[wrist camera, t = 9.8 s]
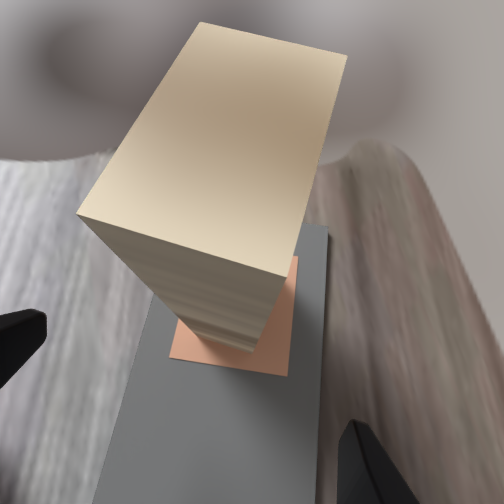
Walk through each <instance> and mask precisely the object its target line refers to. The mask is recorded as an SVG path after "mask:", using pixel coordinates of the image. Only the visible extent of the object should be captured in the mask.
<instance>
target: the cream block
mask: <svg viewBox="0 0 504 504" xmlns="http://www.w3.org/2000/svg"><path fill="white" fill-rule="evenodd" d="M346 59H347V55H342V54H338V53H334V52H329V51H325V50H321V49H316V48H312V47H308V46H303V45H299V44H295V43H290V42H286V41H281V40H277V39H273V38H268V37H264V36H259V35H255V34H251V33H247V32H242V31H238V30H233V29H229V28H225V27H221V26H216V25H212V24H207V23H203V22H200V23H199V24H198V26H197V28H196V29H195V31H194V32H193V34H192V35H191V37H190V38H189V40H188V41H187V43H186V44H185V46H184V48H183V49H182V51H181V52H180V54H179V56H178V57H177V58H176V60H175V61H174V63H173V65H172V66H171V68H170V69H169V71H168V72H167V74H166V75H165V77H164V79H163V80H162V82H161V83H160V85H159V86H158V88H157V89H156V91H155V92H154V94H153V95H152V97H151V98H150V100H149V101H148V103H147V105H146V106H145V108H144V109H143V111H142V112H141V114H140V115H139V117H138V118H137V120H136V122H135V123H134V125H133V126H132V128H131V129H130V131H129V132H128V134H127V135H126V137H125V139H124V140H123V142H122V143H121V145H120V146H119V148H118V149H117V151H116V152H115V154H114V155H113V157H112V158H111V160H110V162H109V163H108V165H107V166H106V168H105V169H104V171H103V172H102V174H101V175H100V177H99V179H98V180H97V182H96V183H95V185H94V186H93V188H92V189H91V191H90V192H89V194H88V195H87V197H86V199H85V200H84V202H83V203H82V205H81V206H80V208H79V209H78V211H77V212H76V214H77V215H78V216H79V217H80V218H81V219H82V220H83V221H84V222H85V224H86V225H87V226H88V227H89V228H90V229H91V230H92V231H93V232H94V233H95V234H96V235H97V236H98V237H99V238H100V239H101V240H102V241H103V242H104V243H105V244H106V245H107V246H108V247H109V248H110V249H111V250H112V251H113V252H114V253H115V254H116V255H117V256H118V257H119V258H120V259H121V260H122V261H123V262H124V263H125V264H126V265H127V266H128V267H129V268H130V269H131V270H132V271H133V272H134V273H135V274H136V275H137V276H138V277H139V278H140V279H141V280H142V281H143V282H144V283H145V284H146V285H147V286H148V287H149V288H150V289H151V290H152V291H153V292H154V293H155V294H156V295H157V296H158V297H159V298H160V299H161V300H162V301H163V302H164V303H165V304H166V305H167V306H168V308H169V309H170V310H171V311H172V312H173V313H174V314H175V315H176V316H177V317H178V318H179V319H180V320H181V321H182V322H183V323H184V324H185V325H186V326H187V327H188V328H189V329H190V330H191V331H192V332H193V333H194V334H195V335H196V336H198V337H201V338H204V339H207V340H210V341H213V342H216V343H219V344H222V345H225V346H228V347H231V348H234V349H237V350H241V351H244V352H247V353H250V354H252V353H253V351H254V349H255V347H256V344H257V342H258V340H259V338H260V336H261V333H262V331H263V329H264V327H265V325H266V322H267V320H268V318H269V316H270V314H271V311H272V309H273V307H274V305H275V303H276V300H277V298H278V296H279V294H280V292H281V289H282V287H283V285H284V283H285V281H286V278H287V275H288V272H289V268H290V264H291V261H292V257H293V253H294V250H295V246H296V242H297V239H298V235H299V232H300V228H301V224H302V221H303V217H304V213H305V210H306V206H307V202H308V199H309V195H310V191H311V188H312V184H313V180H314V177H315V173H316V169H317V166H318V162H319V158H320V155H321V151H322V147H323V144H324V140H325V136H326V133H327V129H328V125H329V122H330V118H331V114H332V111H333V107H334V103H335V99H336V96H337V92H338V89H339V85H340V81H341V77H342V74H343V70H344V66H345V63H346Z"/></svg>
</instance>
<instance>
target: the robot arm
mask: <svg viewBox="0 0 504 504" xmlns="http://www.w3.org/2000/svg"><path fill="white" fill-rule="evenodd" d="M46 337H47V316H46V314H45V313H44V312H41V311H38V310H35V309H26V310H22V311H17V312H12V313H8V314H3V315H0V389H1V388H2V387H3V386H4V385H5V384H6V383H7V382H8V381H9V380H10V378H11V377H12V376H13V375H14V374H15V373H16V372H17V371H18V370H19V369H20V368H21V367H22V366H23V365H24V364H25V362H26V361H27V360H28V359H29V358H30V357H31V356H32V355H33V354H34V353H35V352H36V351H37V350H38V349H39V347H40V346H41V345H42V344H43V343H44V341H45V340H46ZM337 504H420V503H419V501H418V500H417V498H416V497H415V495H414V494H413V492H412V491H411V489H410V488H409V486H408V485H407V483H406V482H405V480H404V478H403V477H402V475H401V474H400V472H399V471H398V469H397V468H396V466H395V465H394V463H393V462H392V460H391V459H390V457H389V455H388V454H387V452H386V451H385V449H384V448H383V446H382V445H381V443H380V442H379V440H378V439H377V437H376V436H375V434H374V433H373V431H372V429H371V428H370V427H369V425H368V424H366V423H364V422H361V421H358V420H356V419H351V420H350V421H349V423H348V425H347V427H346V429H345V431H344V433H343V435H342V437H341V439H340V441H339V447H338V480H337Z"/></svg>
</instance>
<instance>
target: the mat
mask: <svg viewBox="0 0 504 504" xmlns="http://www.w3.org/2000/svg"><path fill="white" fill-rule="evenodd" d="M327 241H328V227H327V226H321V225H314V224H307V223H302V224H301V228H300V232H299V235H298V239H297V242H296V246H295V250H294V253H293V257H292V261H291V264H290V268H289V272H288V275H287V278H286V281H285V283H284V285H283V287H282V289H281V292H280V294H279V296H278V298H277V300H276V303H275V305H274V307H273V309H272V311H271V314H270V316H269V318H268V320H267V322H266V325H265V327H264V329H263V331H262V333H261V336H260V338H259V340H258V342H257V344H256V347H255V349H254V351H253V353H252V354H250V353H247V352H244V351H241V350H237V349H234V348H231V347H228V346H225V345H222V344H219V343H216V342H213V341H210V340H207V339H204V338H201V337H198V336H196V335H195V334H194V333H193V332H192V331H191V330H190V329H189V328H188V327H187V326H186V325H185V324H184V323H183V322H182V321H181V320H180V319H179V318H178V317H177V316H176V315H175V314H174V313H173V312H172V311H171V310H170V309H169V308H168V306H167V305H166V304H165V303H164V302H163V301H162V300H161V299H160V298H159V297H158V296H157V295H156V294H155V293H154V295H153V298H152V301H151V305H150V308H149V312H148V315H147V318H146V322H145V325H144V329H143V332H142V335H141V339H140V342H139V346H138V349H137V352H136V356H135V359H134V363H133V366H132V369H131V373H130V376H129V380H128V383H127V387H126V390H125V393H124V397H123V400H122V404H121V407H120V410H119V414H118V417H117V421H116V424H115V427H114V431H113V434H112V438H111V441H110V444H109V448H108V451H107V455H106V458H105V461H104V465H103V468H102V472H101V475H100V479H99V482H98V485H97V489H96V492H95V496H94V499H93V502H92V504H315V489H316V468H317V448H318V427H319V407H320V386H321V365H322V345H323V324H324V303H325V283H326V262H327Z"/></svg>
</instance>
